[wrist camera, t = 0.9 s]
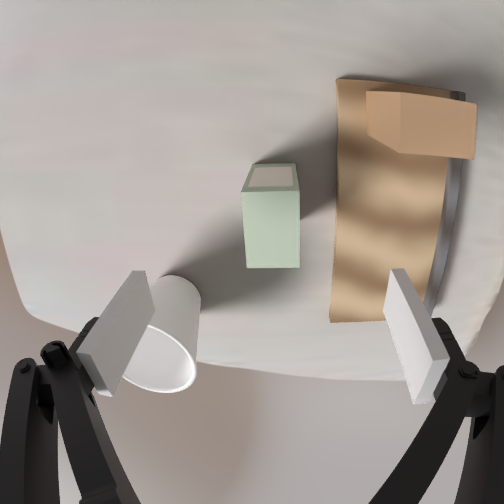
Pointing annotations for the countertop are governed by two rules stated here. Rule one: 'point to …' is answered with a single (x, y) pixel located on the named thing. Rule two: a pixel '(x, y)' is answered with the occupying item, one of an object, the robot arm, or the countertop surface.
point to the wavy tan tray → (387, 210)
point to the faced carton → (422, 124)
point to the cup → (168, 338)
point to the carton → (271, 216)
